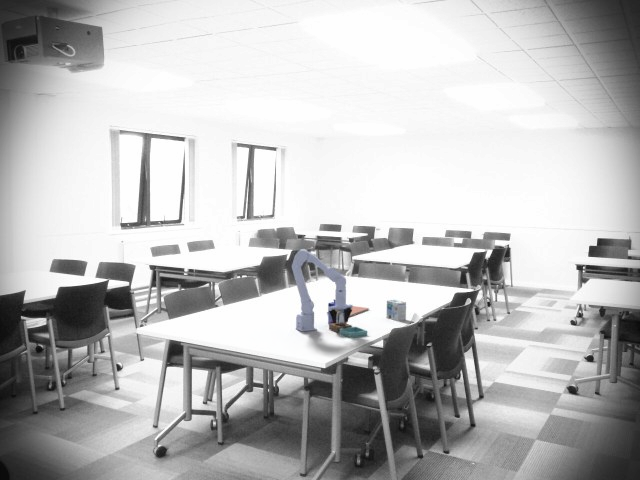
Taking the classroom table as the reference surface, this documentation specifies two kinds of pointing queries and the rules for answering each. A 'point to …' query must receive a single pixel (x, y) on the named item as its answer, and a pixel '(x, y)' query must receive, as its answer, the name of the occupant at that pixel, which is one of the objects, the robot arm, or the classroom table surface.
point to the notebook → (357, 310)
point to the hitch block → (338, 327)
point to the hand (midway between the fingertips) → (340, 322)
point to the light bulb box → (396, 310)
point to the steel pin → (340, 318)
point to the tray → (353, 332)
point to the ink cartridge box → (336, 311)
